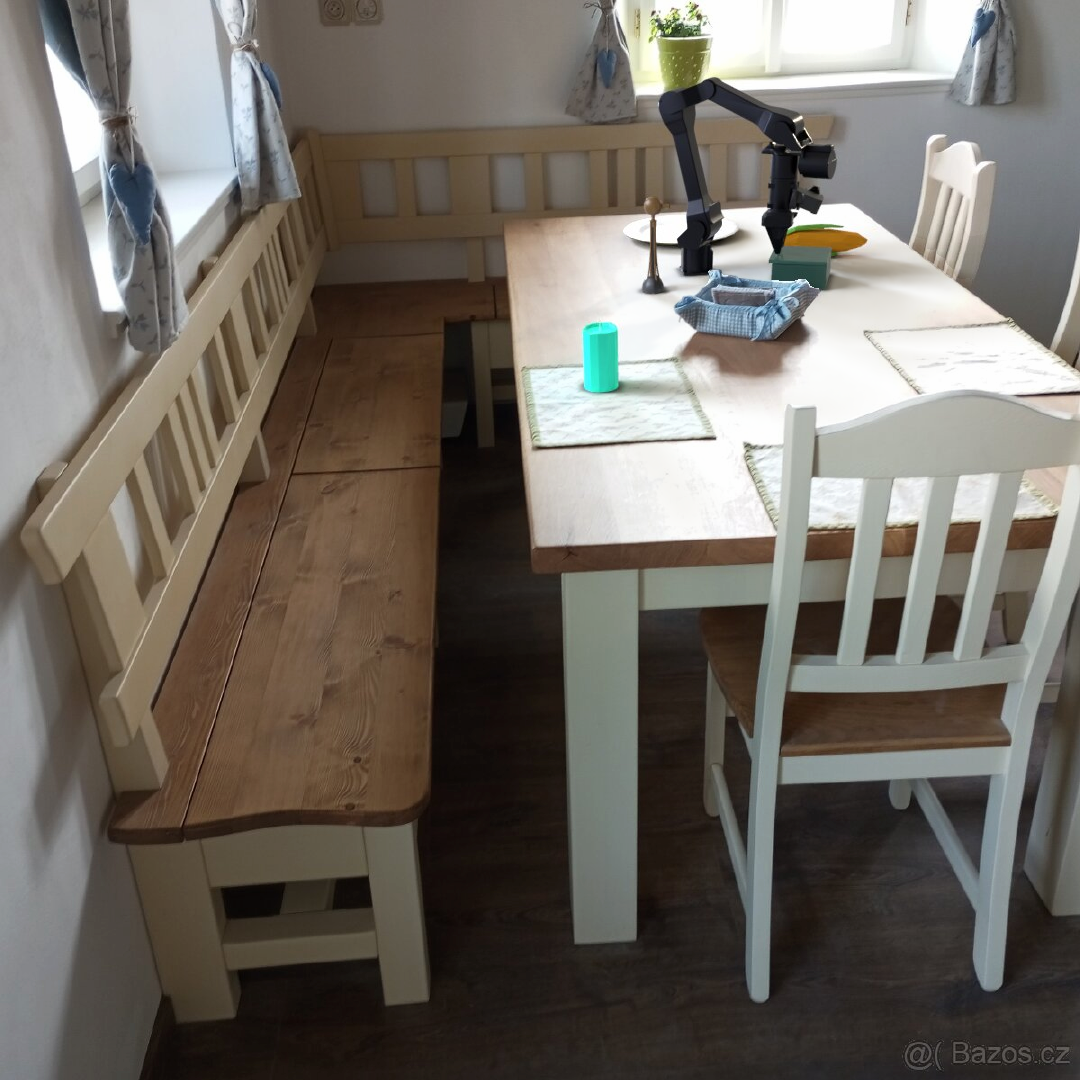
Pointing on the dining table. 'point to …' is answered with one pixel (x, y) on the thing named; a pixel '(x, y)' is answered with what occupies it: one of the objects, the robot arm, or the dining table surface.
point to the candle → (600, 357)
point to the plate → (671, 229)
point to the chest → (803, 273)
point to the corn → (824, 237)
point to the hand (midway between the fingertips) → (779, 250)
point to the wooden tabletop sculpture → (653, 247)
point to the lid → (801, 255)
